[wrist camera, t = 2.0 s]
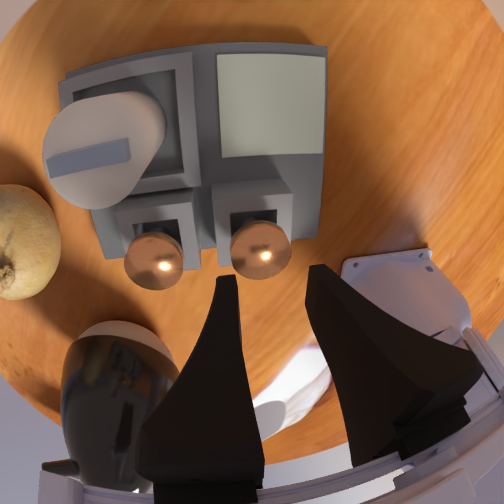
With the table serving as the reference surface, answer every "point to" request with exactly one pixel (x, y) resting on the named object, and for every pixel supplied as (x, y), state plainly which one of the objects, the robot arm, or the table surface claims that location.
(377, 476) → the robot arm
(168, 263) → the plunger
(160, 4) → the table surface
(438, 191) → the table surface
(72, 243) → the table surface
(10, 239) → the onion
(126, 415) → the pump dispenser
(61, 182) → the disc
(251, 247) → the plunger
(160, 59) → the housing
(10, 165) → the table surface
